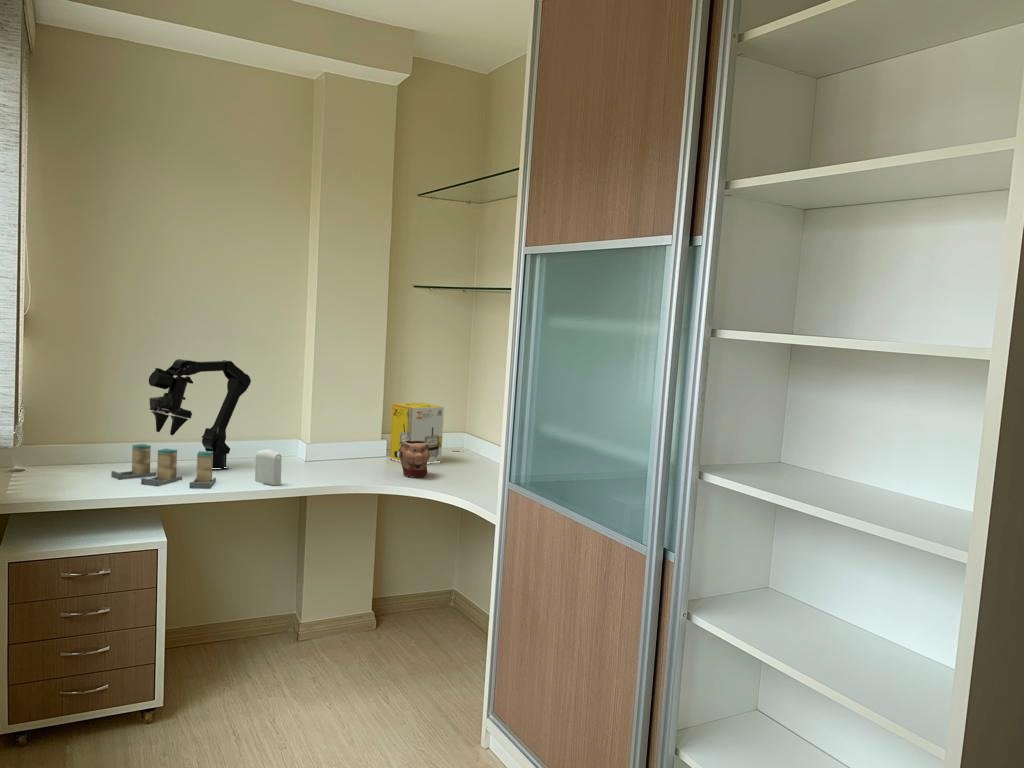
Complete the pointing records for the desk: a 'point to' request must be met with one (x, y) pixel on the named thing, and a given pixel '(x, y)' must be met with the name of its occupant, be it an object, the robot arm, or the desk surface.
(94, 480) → the desk surface
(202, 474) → the oak key
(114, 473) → the slate track
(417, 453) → the decorative planter
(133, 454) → the oak key
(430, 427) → the packaging box
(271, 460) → the photo printer
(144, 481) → the slate track
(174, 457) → the oak key
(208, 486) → the slate track
